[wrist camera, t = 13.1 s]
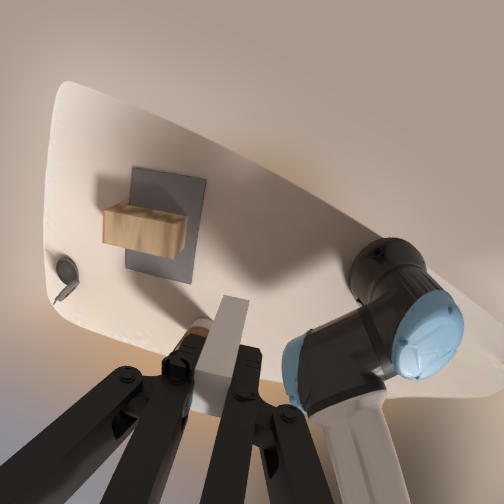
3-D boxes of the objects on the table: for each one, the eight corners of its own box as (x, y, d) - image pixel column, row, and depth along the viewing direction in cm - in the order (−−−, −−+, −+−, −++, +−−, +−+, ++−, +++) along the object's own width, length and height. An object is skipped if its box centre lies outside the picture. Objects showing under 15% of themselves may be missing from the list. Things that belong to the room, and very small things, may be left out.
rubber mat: (206, 179, 52) (205, 179, 51) (191, 283, 59) (190, 284, 58) (134, 167, 52) (132, 168, 51) (127, 266, 59) (125, 268, 58)
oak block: (119, 203, 54) (188, 216, 54) (118, 233, 56) (184, 247, 56) (103, 210, 48) (176, 224, 48) (102, 242, 50) (173, 259, 50)
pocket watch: (58, 253, 60) (31, 269, 51) (86, 264, 60) (60, 283, 51) (58, 284, 63) (34, 302, 53) (85, 296, 63) (61, 317, 53)
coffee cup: (182, 312, 61) (156, 356, 47) (222, 312, 60) (205, 359, 46) (189, 345, 64) (167, 392, 50) (227, 346, 63) (213, 396, 49)
